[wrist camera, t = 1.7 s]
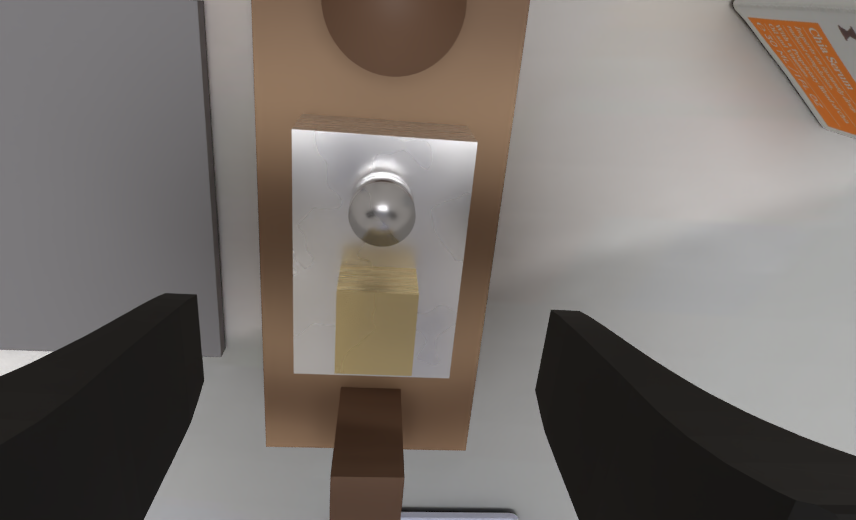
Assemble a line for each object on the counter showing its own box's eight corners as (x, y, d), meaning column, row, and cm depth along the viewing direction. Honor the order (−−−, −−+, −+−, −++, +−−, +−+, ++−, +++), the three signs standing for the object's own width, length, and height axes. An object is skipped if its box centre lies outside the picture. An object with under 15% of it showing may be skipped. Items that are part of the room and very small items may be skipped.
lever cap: (442, 341, 19) (454, 411, 16) (302, 336, 19) (285, 406, 15) (467, 125, 16) (487, 157, 13) (302, 113, 16) (281, 143, 13)
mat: (225, 348, 22) (221, 356, 21) (-31, 339, 21) (-42, 348, 21) (203, 0, 17) (197, 0, 17) (-130, -30, 16) (-148, -31, 16)
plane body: (456, 398, 24) (482, 545, 17) (280, 393, 23) (240, 544, 17) (513, -45, 17) (589, -70, 11) (270, -70, 17) (199, -112, 10)
